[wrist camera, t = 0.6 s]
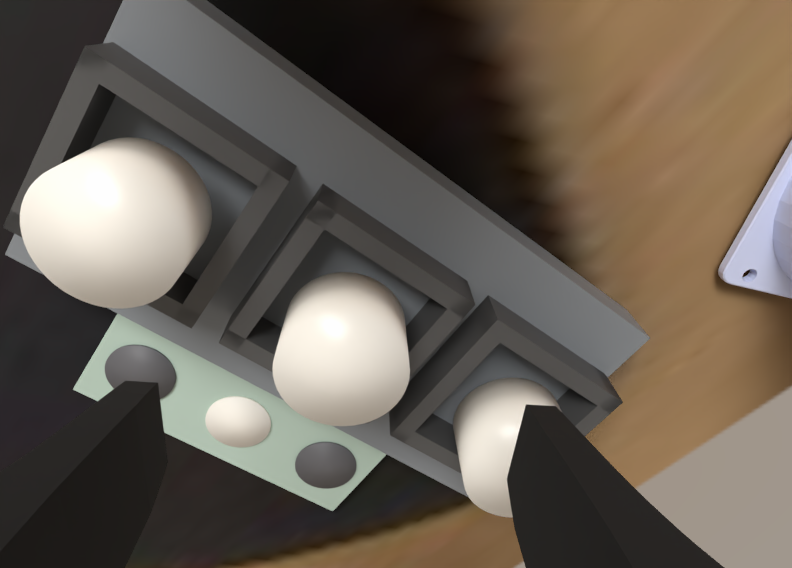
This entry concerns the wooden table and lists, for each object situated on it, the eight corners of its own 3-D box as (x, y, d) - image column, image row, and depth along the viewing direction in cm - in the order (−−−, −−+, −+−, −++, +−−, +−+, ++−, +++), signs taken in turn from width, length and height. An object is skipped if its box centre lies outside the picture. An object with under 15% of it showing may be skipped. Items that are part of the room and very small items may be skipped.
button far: (581, 410, 18) (609, 463, 16) (510, 475, 20) (527, 532, 18) (501, 359, 17) (519, 409, 15) (431, 431, 19) (438, 487, 16)
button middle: (429, 313, 16) (437, 359, 14) (360, 392, 18) (359, 445, 16) (328, 249, 15) (321, 288, 13) (263, 338, 17) (247, 387, 15)
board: (626, 309, 21) (672, 364, 18) (466, 463, 24) (481, 533, 21) (166, -30, 15) (112, -39, 12) (39, 230, 19) (-29, 277, 16)
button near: (236, 190, 15) (212, 222, 12) (174, 289, 16) (143, 333, 14) (106, 107, 14) (55, 126, 11) (51, 220, 15) (-4, 256, 13)
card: (389, 443, 24) (390, 452, 23) (333, 504, 25) (332, 513, 25) (125, 303, 20) (119, 309, 20) (77, 383, 22) (71, 391, 21)
